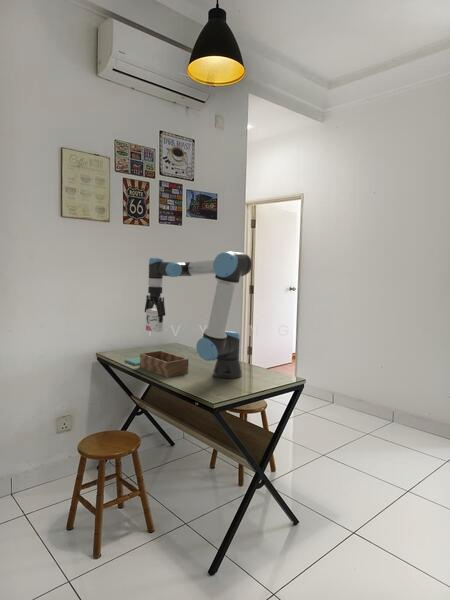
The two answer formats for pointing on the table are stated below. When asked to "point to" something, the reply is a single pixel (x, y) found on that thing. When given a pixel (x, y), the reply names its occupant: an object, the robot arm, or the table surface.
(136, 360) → the zone mat
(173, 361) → the crate
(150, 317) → the ink box
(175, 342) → the table surface
